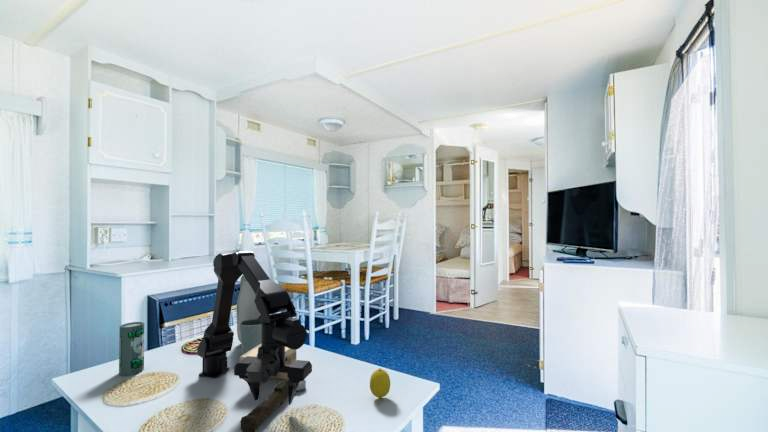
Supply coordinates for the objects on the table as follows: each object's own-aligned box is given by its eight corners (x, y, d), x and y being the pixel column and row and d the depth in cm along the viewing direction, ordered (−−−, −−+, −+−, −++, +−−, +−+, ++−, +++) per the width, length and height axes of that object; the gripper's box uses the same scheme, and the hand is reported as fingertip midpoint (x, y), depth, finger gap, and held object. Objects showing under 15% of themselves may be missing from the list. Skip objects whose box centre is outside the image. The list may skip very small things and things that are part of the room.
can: (139, 374, 107) (140, 326, 107) (116, 377, 105) (117, 328, 105) (145, 366, 113) (146, 321, 113) (123, 369, 110) (124, 323, 111)
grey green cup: (263, 360, 117) (263, 325, 117) (234, 360, 117) (234, 325, 118) (273, 349, 127) (273, 317, 128) (246, 349, 127) (246, 317, 128)
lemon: (383, 406, 87) (383, 374, 87) (365, 400, 90) (365, 370, 90) (394, 396, 92) (394, 367, 92) (377, 391, 95) (376, 362, 95)
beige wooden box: (239, 390, 96) (239, 356, 96) (264, 371, 108) (264, 341, 109) (275, 394, 94) (275, 359, 94) (296, 373, 106) (296, 343, 106)
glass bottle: (254, 337, 141) (254, 270, 141) (269, 342, 135) (269, 272, 135) (231, 344, 133) (231, 273, 133) (246, 350, 127) (246, 275, 127)
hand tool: (254, 436, 75) (254, 415, 75) (239, 433, 76) (239, 412, 76) (297, 395, 93) (298, 378, 94) (285, 393, 95) (285, 376, 95)
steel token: (289, 394, 94) (289, 387, 94) (289, 386, 98) (289, 380, 98) (305, 392, 95) (305, 385, 95) (305, 385, 99) (305, 378, 99)
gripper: (219, 349, 80) (219, 416, 79) (292, 354, 76) (292, 424, 76) (247, 333, 91) (247, 392, 90) (312, 338, 87) (312, 399, 87)
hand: (273, 402), depth 86 cm, fingers open, 9 cm apart
